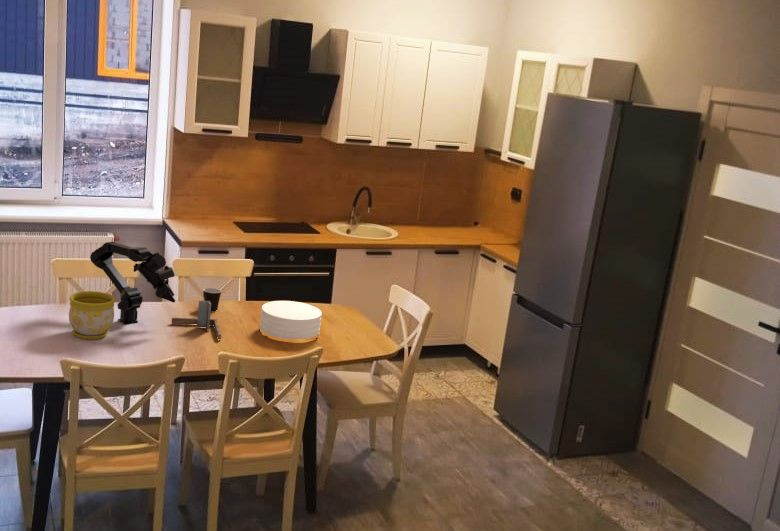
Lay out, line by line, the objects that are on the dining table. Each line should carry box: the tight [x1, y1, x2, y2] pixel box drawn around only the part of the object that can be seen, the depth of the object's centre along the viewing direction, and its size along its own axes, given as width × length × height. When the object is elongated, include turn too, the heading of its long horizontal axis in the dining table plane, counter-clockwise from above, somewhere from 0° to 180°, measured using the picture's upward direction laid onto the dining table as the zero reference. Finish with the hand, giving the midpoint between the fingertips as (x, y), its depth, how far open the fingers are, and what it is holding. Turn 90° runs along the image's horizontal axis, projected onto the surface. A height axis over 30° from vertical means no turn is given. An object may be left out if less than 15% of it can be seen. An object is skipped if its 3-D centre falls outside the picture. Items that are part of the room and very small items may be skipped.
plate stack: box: [259, 300, 323, 339], centre depth 372 cm, size 28×28×12 cm
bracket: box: [196, 300, 212, 331], centre depth 359 cm, size 5×5×13 cm
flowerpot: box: [68, 290, 116, 340], centre depth 334 cm, size 18×18×16 cm
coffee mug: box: [202, 287, 222, 312], centre depth 390 cm, size 12×9×10 cm
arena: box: [171, 317, 222, 340], centre depth 356 cm, size 21×20×3 cm
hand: (174, 298), depth 355 cm, fingers open, 9 cm apart
